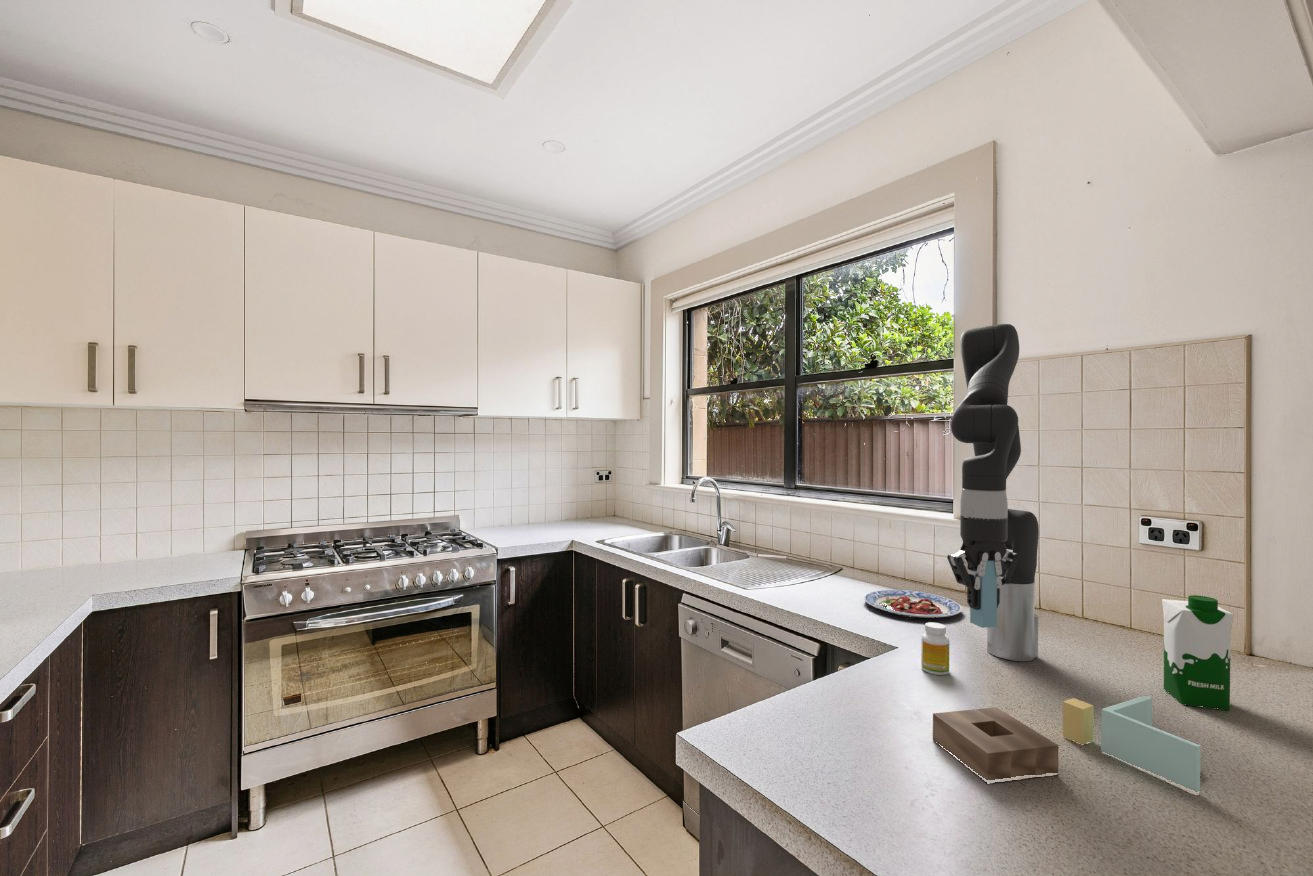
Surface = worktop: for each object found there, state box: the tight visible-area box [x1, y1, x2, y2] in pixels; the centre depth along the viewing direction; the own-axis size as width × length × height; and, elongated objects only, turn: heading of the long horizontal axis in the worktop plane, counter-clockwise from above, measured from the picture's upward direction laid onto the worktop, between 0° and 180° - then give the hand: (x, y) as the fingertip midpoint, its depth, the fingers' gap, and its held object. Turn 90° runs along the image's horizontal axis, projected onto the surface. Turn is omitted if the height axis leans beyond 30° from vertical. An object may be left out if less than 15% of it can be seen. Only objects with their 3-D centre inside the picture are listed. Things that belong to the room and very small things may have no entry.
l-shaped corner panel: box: [1100, 695, 1202, 792], centre depth 88 cm, size 12×12×8 cm
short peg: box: [1062, 697, 1094, 744], centre depth 95 cm, size 3×3×6 cm
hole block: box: [932, 706, 1060, 780], centre depth 90 cm, size 12×12×4 cm
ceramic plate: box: [864, 589, 963, 619], centre depth 166 cm, size 26×26×3 cm
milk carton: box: [1161, 594, 1235, 711], centre depth 109 cm, size 9×9×20 cm
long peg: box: [969, 560, 997, 629], centre depth 105 cm, size 3×3×12 cm
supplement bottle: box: [920, 621, 950, 676], centre depth 123 cm, size 5×5×10 cm
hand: (983, 607), depth 105 cm, fingers closed on long peg, 3 cm apart
